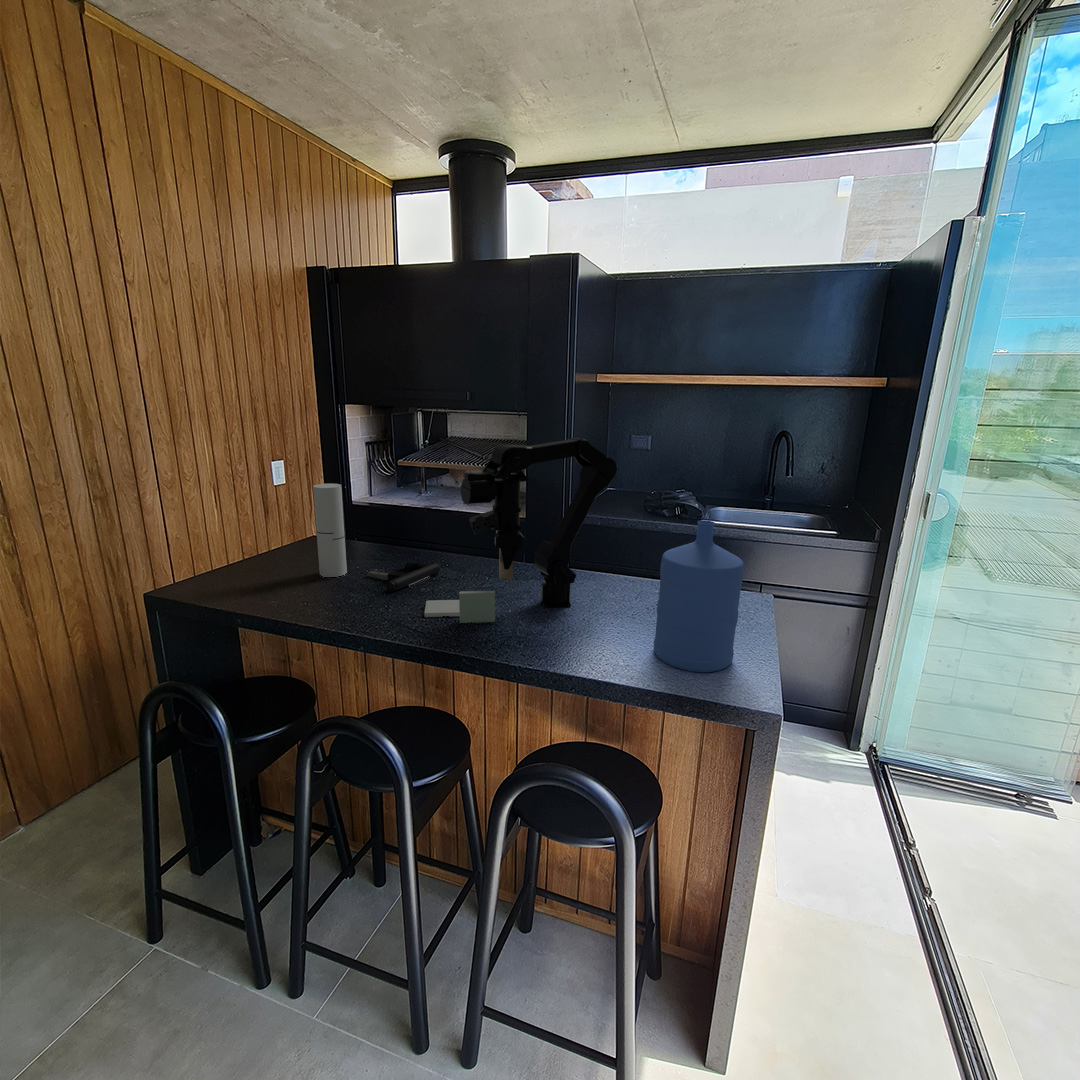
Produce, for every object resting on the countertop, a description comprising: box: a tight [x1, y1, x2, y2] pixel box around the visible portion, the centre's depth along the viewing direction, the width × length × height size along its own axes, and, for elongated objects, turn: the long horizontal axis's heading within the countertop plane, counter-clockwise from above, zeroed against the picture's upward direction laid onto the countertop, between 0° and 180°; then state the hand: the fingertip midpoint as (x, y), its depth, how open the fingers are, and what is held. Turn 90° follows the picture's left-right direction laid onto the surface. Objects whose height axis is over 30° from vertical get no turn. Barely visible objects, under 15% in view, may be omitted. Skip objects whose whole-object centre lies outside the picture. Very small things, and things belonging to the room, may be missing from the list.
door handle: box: [367, 561, 441, 592], centre depth 156 cm, size 3×20×16 cm
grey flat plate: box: [424, 599, 460, 618], centre depth 135 cm, size 10×8×1 cm
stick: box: [498, 548, 514, 580], centre depth 131 cm, size 3×3×9 cm
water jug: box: [653, 519, 745, 673], centre depth 111 cm, size 16×16×28 cm
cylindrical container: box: [312, 483, 348, 578], centre depth 155 cm, size 7×7×25 cm
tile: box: [458, 590, 496, 624], centre depth 128 cm, size 8×2×7 cm, turn 98°
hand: (506, 566), depth 132 cm, fingers closed on stick, 3 cm apart
